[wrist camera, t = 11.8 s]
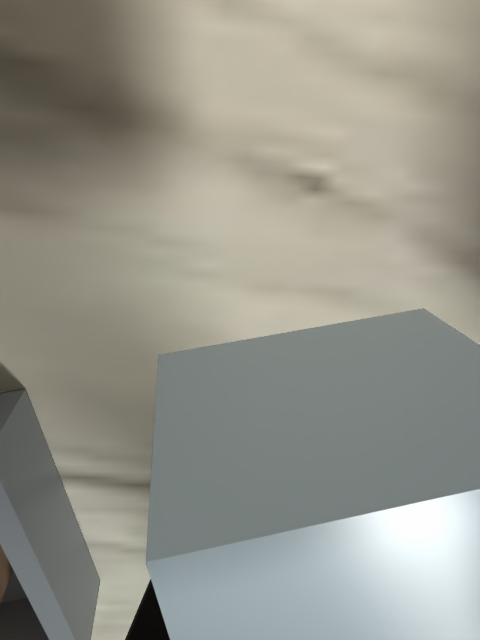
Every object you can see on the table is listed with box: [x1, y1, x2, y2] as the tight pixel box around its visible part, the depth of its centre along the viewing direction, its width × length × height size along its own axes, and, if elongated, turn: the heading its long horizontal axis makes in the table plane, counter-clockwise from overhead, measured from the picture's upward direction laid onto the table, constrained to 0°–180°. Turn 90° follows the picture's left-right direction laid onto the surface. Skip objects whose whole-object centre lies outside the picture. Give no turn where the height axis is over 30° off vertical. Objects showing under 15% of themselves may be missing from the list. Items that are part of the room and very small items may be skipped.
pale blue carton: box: [146, 308, 480, 640], centre depth 7 cm, size 7×5×4 cm
